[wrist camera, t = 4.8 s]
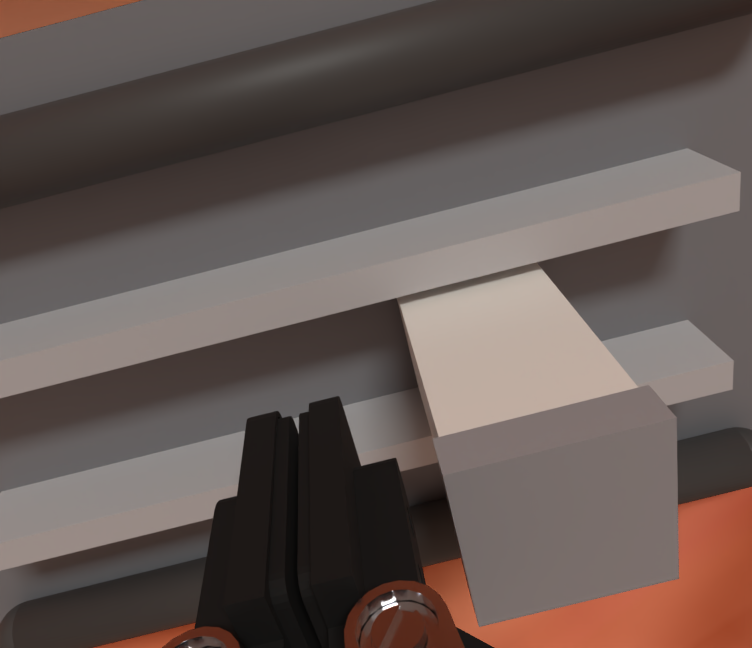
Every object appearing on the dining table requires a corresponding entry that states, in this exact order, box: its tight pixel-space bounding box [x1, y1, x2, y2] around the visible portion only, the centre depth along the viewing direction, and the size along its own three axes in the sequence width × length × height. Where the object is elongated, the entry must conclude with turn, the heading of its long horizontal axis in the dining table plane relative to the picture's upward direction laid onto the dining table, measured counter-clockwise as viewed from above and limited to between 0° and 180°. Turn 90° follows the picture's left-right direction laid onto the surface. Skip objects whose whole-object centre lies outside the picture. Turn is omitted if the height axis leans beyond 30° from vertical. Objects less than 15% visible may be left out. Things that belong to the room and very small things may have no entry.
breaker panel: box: [0, 0, 752, 648], centre depth 16 cm, size 24×16×4 cm, turn 103°
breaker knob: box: [397, 262, 679, 627], centre depth 13 cm, size 3×3×7 cm
